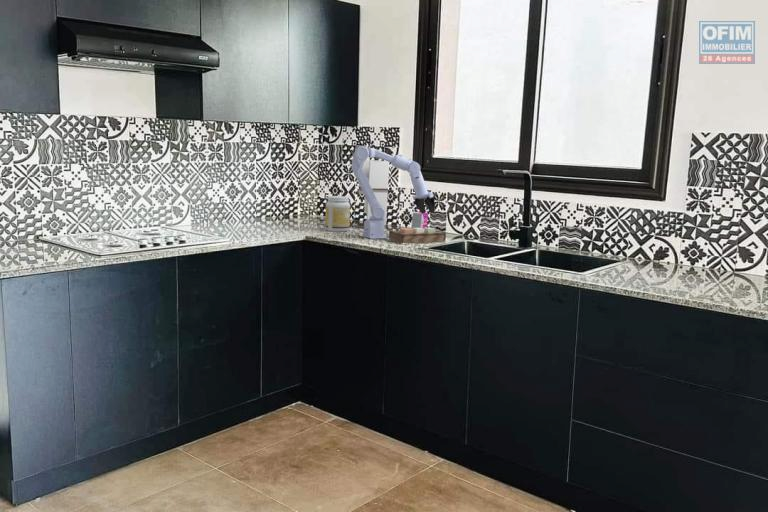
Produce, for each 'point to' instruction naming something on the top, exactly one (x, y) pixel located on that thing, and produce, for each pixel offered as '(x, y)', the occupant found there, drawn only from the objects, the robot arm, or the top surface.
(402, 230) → the terracotta key
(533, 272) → the top surface
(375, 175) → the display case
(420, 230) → the cream key
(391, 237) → the frame
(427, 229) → the sage key
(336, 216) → the supplement tub
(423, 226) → the supplement box
